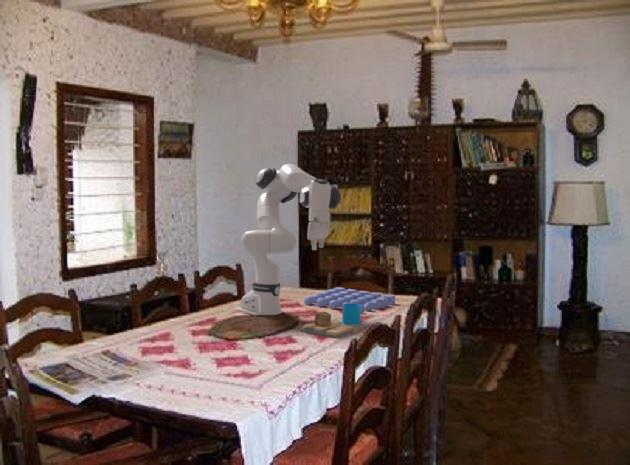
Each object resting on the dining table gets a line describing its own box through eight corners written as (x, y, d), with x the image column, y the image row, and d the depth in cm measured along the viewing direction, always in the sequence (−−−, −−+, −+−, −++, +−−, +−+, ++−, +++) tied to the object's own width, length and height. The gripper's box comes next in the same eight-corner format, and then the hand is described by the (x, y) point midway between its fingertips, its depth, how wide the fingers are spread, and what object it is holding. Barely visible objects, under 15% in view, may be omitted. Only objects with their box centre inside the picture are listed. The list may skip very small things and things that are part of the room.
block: (314, 323, 296) (315, 312, 296) (324, 323, 299) (325, 311, 298) (320, 326, 292) (320, 315, 292) (330, 325, 295) (331, 314, 294)
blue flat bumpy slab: (395, 304, 359) (395, 295, 359) (362, 315, 330) (363, 305, 330) (337, 295, 378) (337, 286, 378) (302, 305, 349) (302, 295, 349)
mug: (356, 326, 307) (357, 307, 306) (339, 323, 310) (340, 305, 309) (365, 320, 318) (366, 303, 317) (349, 318, 321) (349, 301, 320)
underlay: (299, 331, 293) (299, 325, 293) (317, 325, 305) (317, 320, 305) (336, 338, 284) (336, 332, 284) (352, 331, 296) (353, 326, 296)
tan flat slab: (302, 327, 294) (303, 324, 294) (317, 322, 304) (318, 320, 304) (325, 332, 288) (325, 329, 288) (339, 327, 298) (339, 324, 298)
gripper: (318, 219, 288) (317, 251, 289) (332, 216, 307) (331, 246, 309) (304, 218, 290) (303, 250, 291) (319, 215, 309) (317, 245, 311)
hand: (317, 248), depth 300 cm, fingers open, 8 cm apart
